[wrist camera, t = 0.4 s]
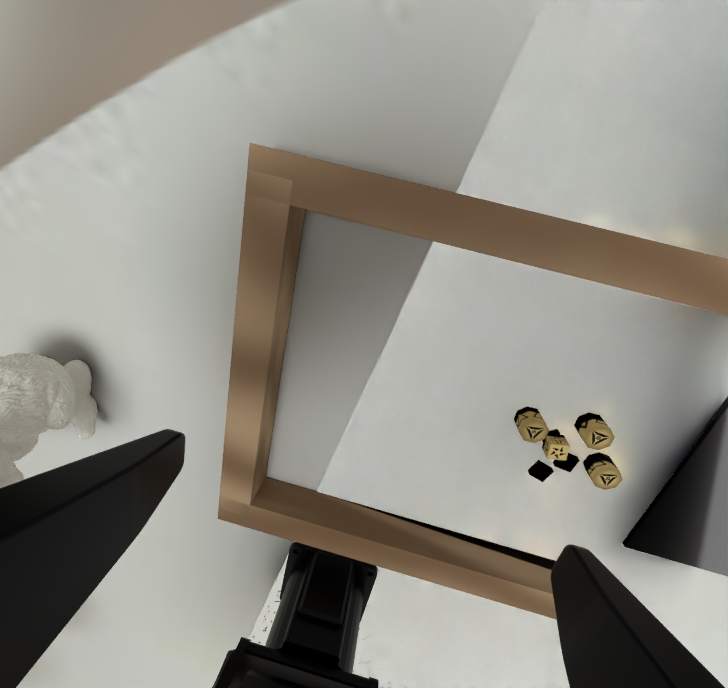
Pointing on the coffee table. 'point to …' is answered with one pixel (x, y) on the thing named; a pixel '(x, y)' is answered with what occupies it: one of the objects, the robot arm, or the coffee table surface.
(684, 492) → the mat
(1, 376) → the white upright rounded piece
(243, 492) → the wooden u-frame
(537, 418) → the dice set
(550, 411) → the coffee table surface
